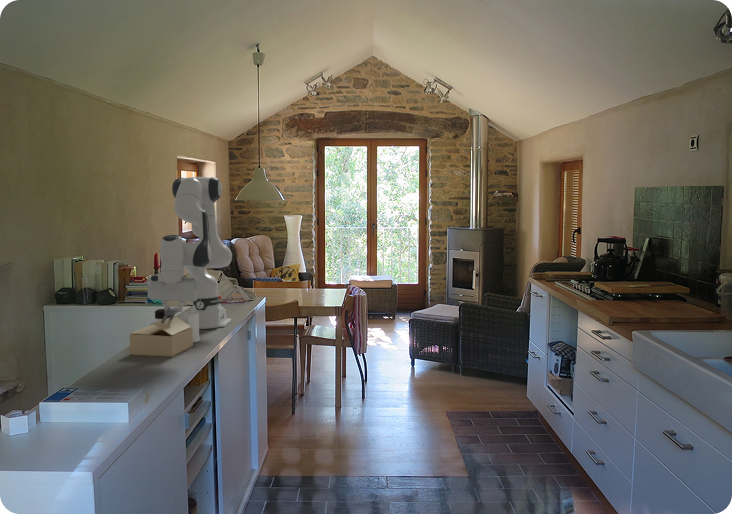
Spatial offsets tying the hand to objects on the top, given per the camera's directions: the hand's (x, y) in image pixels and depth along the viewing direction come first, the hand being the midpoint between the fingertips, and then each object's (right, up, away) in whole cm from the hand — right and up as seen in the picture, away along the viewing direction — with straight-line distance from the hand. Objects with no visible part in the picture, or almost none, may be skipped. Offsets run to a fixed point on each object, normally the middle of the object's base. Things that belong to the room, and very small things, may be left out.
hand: (173, 311), depth 228 cm
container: (-12, -14, +22) cm, 29 cm away
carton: (-5, -16, +3) cm, 17 cm away
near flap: (0, -6, +1) cm, 6 cm away
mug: (+1, -15, +18) cm, 23 cm away
